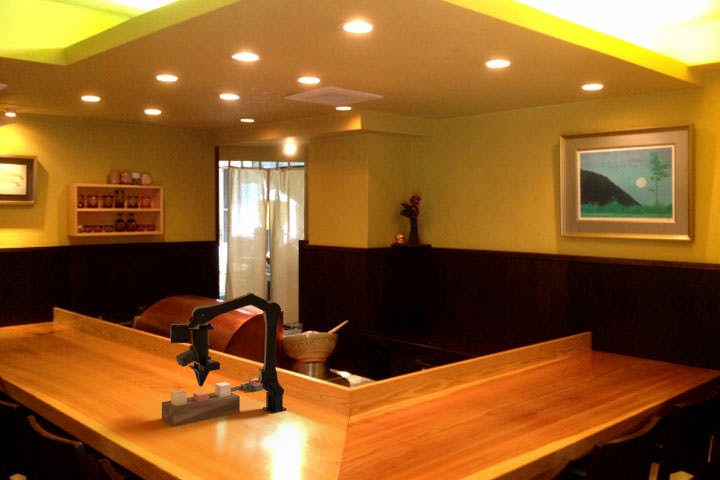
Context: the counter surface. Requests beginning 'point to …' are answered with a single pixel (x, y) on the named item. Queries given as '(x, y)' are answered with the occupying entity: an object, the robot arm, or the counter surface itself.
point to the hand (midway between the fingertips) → (200, 386)
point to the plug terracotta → (201, 396)
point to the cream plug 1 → (178, 397)
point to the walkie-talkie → (250, 385)
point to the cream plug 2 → (223, 389)
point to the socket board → (200, 409)
